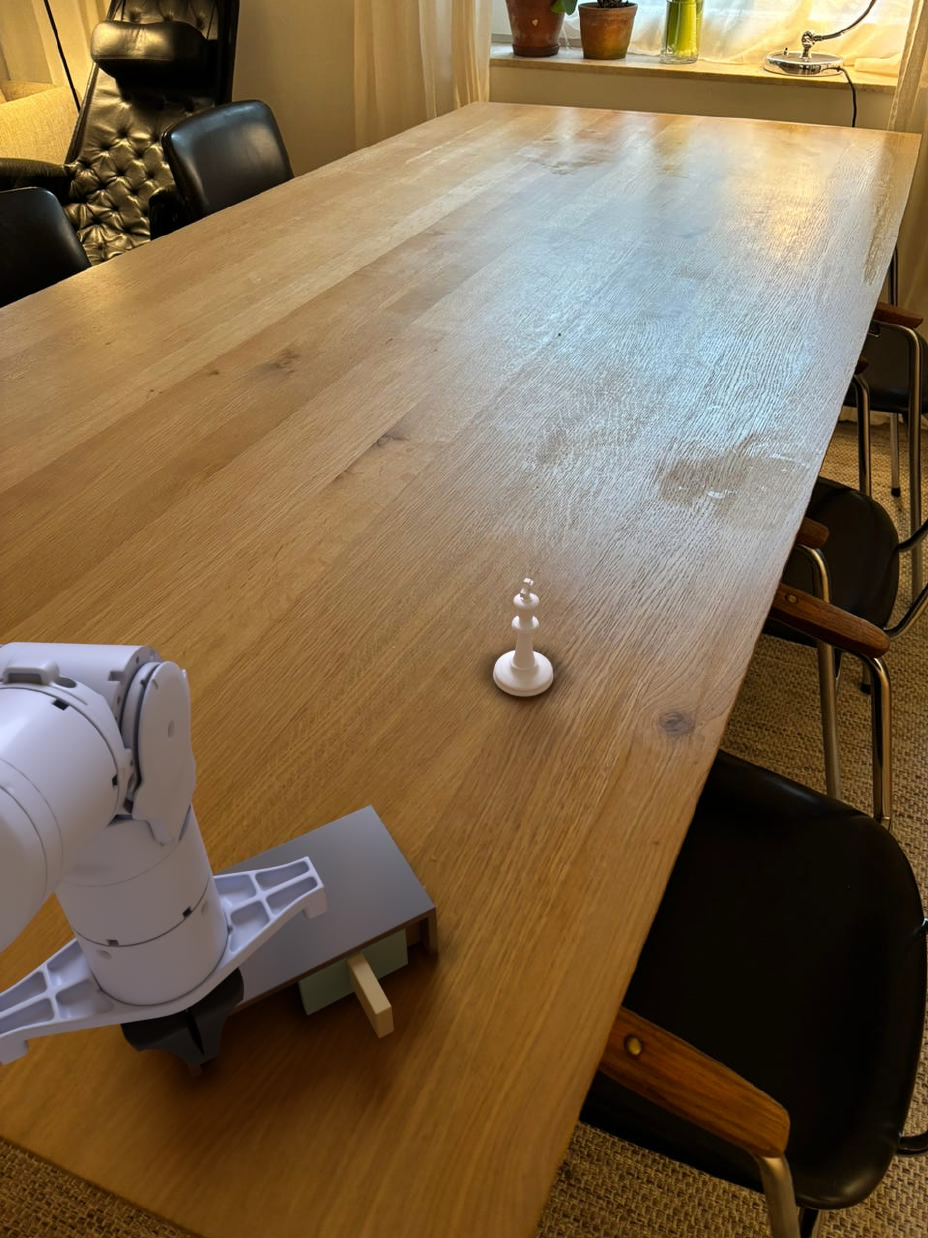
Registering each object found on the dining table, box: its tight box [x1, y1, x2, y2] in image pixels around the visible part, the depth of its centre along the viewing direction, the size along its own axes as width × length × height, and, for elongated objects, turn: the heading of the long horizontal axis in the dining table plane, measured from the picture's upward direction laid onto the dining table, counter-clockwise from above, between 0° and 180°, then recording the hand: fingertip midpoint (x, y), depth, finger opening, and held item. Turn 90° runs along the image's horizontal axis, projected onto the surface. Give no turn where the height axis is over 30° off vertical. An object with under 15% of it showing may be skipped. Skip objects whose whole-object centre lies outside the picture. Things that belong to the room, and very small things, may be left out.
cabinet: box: [185, 804, 439, 1079], centre depth 61 cm, size 16×9×5 cm, turn 120°
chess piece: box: [492, 577, 554, 697], centre depth 78 cm, size 5×5×10 cm
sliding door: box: [297, 928, 409, 1039], centre depth 58 cm, size 7×5×4 cm
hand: (199, 1044), depth 49 cm, fingers closed
